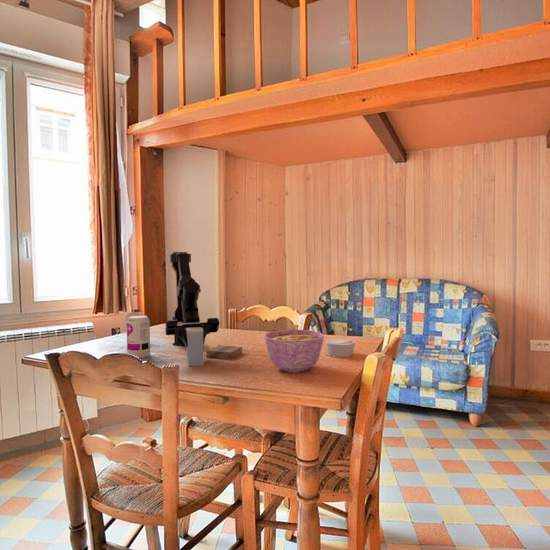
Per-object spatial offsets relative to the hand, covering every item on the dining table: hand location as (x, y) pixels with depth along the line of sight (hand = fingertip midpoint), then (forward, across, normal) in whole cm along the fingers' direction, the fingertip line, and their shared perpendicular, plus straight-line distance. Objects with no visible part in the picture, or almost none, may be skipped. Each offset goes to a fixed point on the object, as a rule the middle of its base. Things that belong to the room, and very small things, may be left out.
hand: (195, 346), depth 155 cm
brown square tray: (-2, -13, -12) cm, 18 cm away
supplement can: (-9, +18, -19) cm, 28 cm away
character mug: (-27, +19, -37) cm, 50 cm away
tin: (+4, 0, -6) cm, 7 cm away
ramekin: (+8, -54, -2) cm, 54 cm away
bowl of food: (+17, -30, +7) cm, 35 cm away
